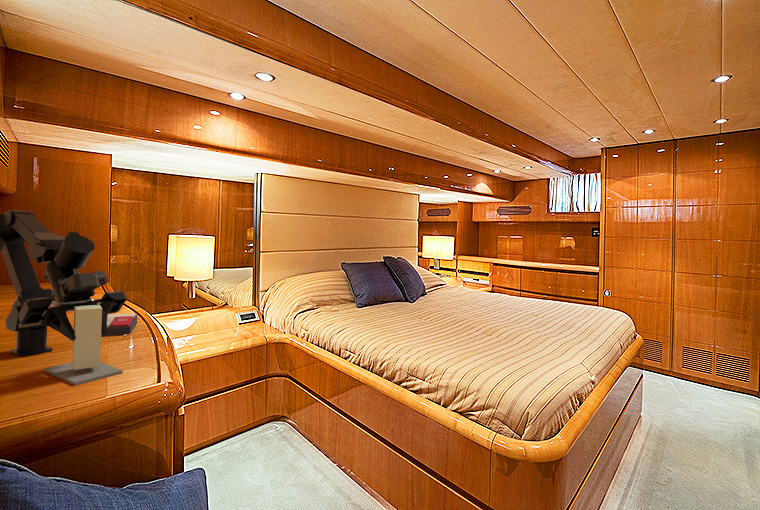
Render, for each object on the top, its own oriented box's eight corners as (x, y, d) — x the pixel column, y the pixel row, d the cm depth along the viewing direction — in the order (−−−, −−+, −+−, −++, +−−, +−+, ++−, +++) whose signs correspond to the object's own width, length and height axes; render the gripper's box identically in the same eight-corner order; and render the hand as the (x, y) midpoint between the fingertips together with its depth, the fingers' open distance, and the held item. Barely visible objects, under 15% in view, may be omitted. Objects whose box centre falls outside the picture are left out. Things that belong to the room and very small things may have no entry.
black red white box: (86, 325, 110) (98, 313, 123) (86, 340, 110) (97, 325, 124) (130, 323, 115) (137, 311, 128) (130, 337, 115) (137, 324, 129)
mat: (44, 371, 83) (44, 368, 83) (90, 360, 91) (90, 358, 91) (75, 385, 77) (75, 382, 77) (122, 372, 85) (122, 370, 84)
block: (72, 364, 84) (74, 306, 83) (97, 360, 87) (99, 304, 86) (73, 370, 80) (76, 309, 80) (99, 366, 83) (102, 308, 83)
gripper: (25, 260, 76) (49, 322, 71) (124, 258, 93) (149, 309, 88) (8, 294, 80) (30, 355, 75) (106, 286, 97) (129, 336, 92)
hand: (89, 337), depth 82 cm, fingers closed on block, 5 cm apart
